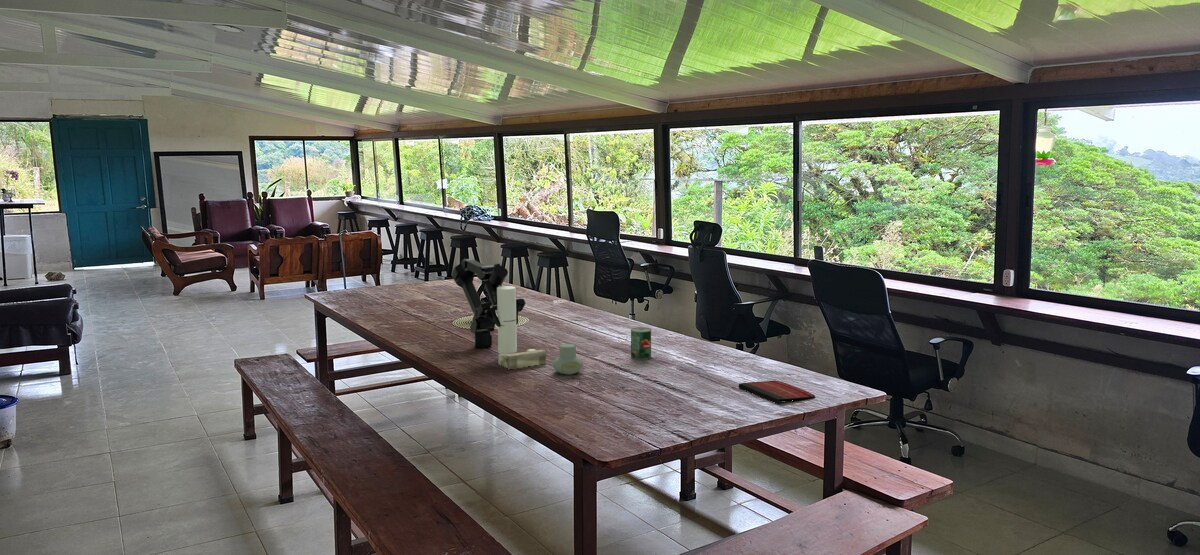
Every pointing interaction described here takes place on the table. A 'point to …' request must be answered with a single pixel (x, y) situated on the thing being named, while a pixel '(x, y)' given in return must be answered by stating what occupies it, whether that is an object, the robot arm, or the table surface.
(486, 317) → the robot arm
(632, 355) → the canned tomato
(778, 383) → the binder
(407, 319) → the table surface
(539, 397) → the table surface
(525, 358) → the wooden holder
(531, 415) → the table surface
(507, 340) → the cylindrical container
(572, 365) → the air freshener
